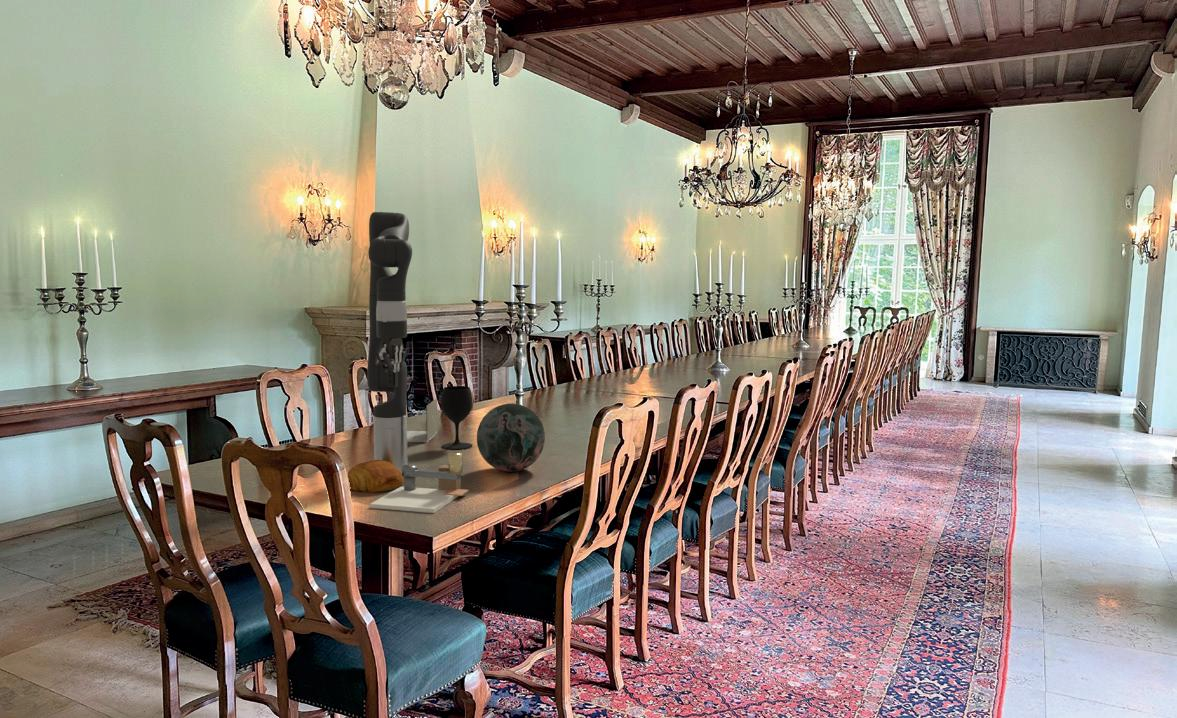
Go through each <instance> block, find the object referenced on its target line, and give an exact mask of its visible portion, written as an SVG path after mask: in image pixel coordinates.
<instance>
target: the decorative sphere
mask: <svg viewBox="0 0 1177 718" xmlns="http://www.w3.org/2000/svg"><path fill="white" fill-rule="evenodd" d="M545 443H546V433H545V428H544V425H543V423H542V420H541V419H540V417H539V416H538V415H537V414H536V412H534V410H532V409H531V408H529V407H527V406H525V405H523V404H518V403H503V404H500V405H498V406H495V407H493V408H492V409H490V410H489V411H488V412H487V413H486V414H485V415H484V416H483V418H482V419H481V420H480V422H479V425H478V428H477V432H476V445H477V449H478V451H479V453H480V455H481V457H482V458H483V460H484V461H485V462H486V463H487V464H488V465H489V466H491V467H492V468H494V469H496V470H499V471H502V472H509V473H514V472H515V473H516V472H519V471H522V470H526V468H529V467H530V466H532V465H533V464H534V463H535V462H536V461H537V460H538V459H539V458H540V456H541V454H542V452H543V450H544V447H545Z"/></svg>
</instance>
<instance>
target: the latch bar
mask: <svg viewBox="0 0 1177 718" xmlns="http://www.w3.org/2000/svg"><path fill="white" fill-rule="evenodd" d="M447 454H448V457H447V459H448V460H447V461H448V464H447V465H448V470H449V471H443V470H439V469H427V468H418V465H417V464H408V465H403V466H402V477H403V478H404V477H416V478H428V479H437V480H439V479H450V480H458V479H460V478H462V474H463V465H464V463H463V461H464V460H463V452H460V451H454V452H452V451H451V452H448V453H447Z"/></svg>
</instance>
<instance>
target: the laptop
mask: <svg viewBox="0 0 1177 718" xmlns="http://www.w3.org/2000/svg"><path fill="white" fill-rule="evenodd" d="M425 409H426V410H425V411H426V412H425V413H426V415H425V417H426V421H425V422H426V428H425V429H426V430H425V431H424V430H407V443H411V442H412V443H413V442H426V444H428V443H429V440H430V441H431V440H432V439H433V438H434V436H436V434H438V398H435V399H433V400H432V401H431V402H430V403H429V404H427V405H426V407H425Z"/></svg>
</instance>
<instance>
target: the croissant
mask: <svg viewBox="0 0 1177 718" xmlns="http://www.w3.org/2000/svg"><path fill="white" fill-rule="evenodd" d="M347 474H348V478H349V482H350V487H351V490H352V491H358V492H363V493H365V492H367V493H370V494H372V493H380V492H386V491H394V490H396V489H398V488H399V487H402V486H404V477H403V476H402V474H401V472H400V471H399V470H398V468H396V467H395V466H394V465H393V463H391V462H388V461H384V460H374V459H373V460H368V461H364V462H361V463H358V464H356V465H354V466H352V467H351V468H350V469H349V470H348V473H347ZM401 485H402V486H401ZM351 490H350V491H351Z"/></svg>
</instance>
